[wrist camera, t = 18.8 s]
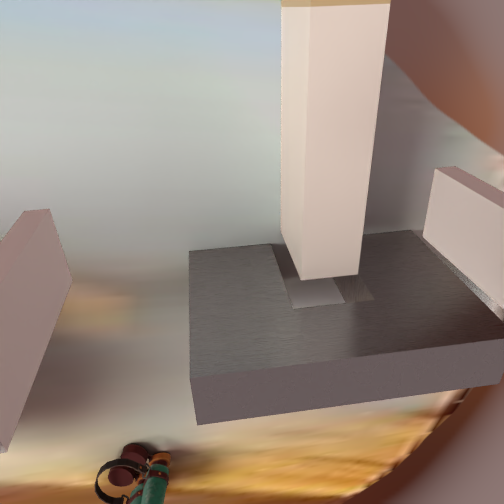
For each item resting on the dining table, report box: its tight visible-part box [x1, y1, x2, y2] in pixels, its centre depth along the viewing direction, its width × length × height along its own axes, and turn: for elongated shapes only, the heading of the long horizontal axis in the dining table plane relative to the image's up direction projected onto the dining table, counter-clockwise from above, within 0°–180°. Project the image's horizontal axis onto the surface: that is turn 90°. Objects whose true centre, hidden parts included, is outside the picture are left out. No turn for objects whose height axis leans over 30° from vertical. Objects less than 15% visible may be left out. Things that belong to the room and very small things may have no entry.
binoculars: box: [95, 444, 171, 504], centre depth 54 cm, size 9×11×10 cm
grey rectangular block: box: [281, 0, 391, 280], centre depth 33 cm, size 23×5×9 cm, turn 2°
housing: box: [189, 230, 504, 425], centre depth 38 cm, size 5×24×17 cm, turn 92°
